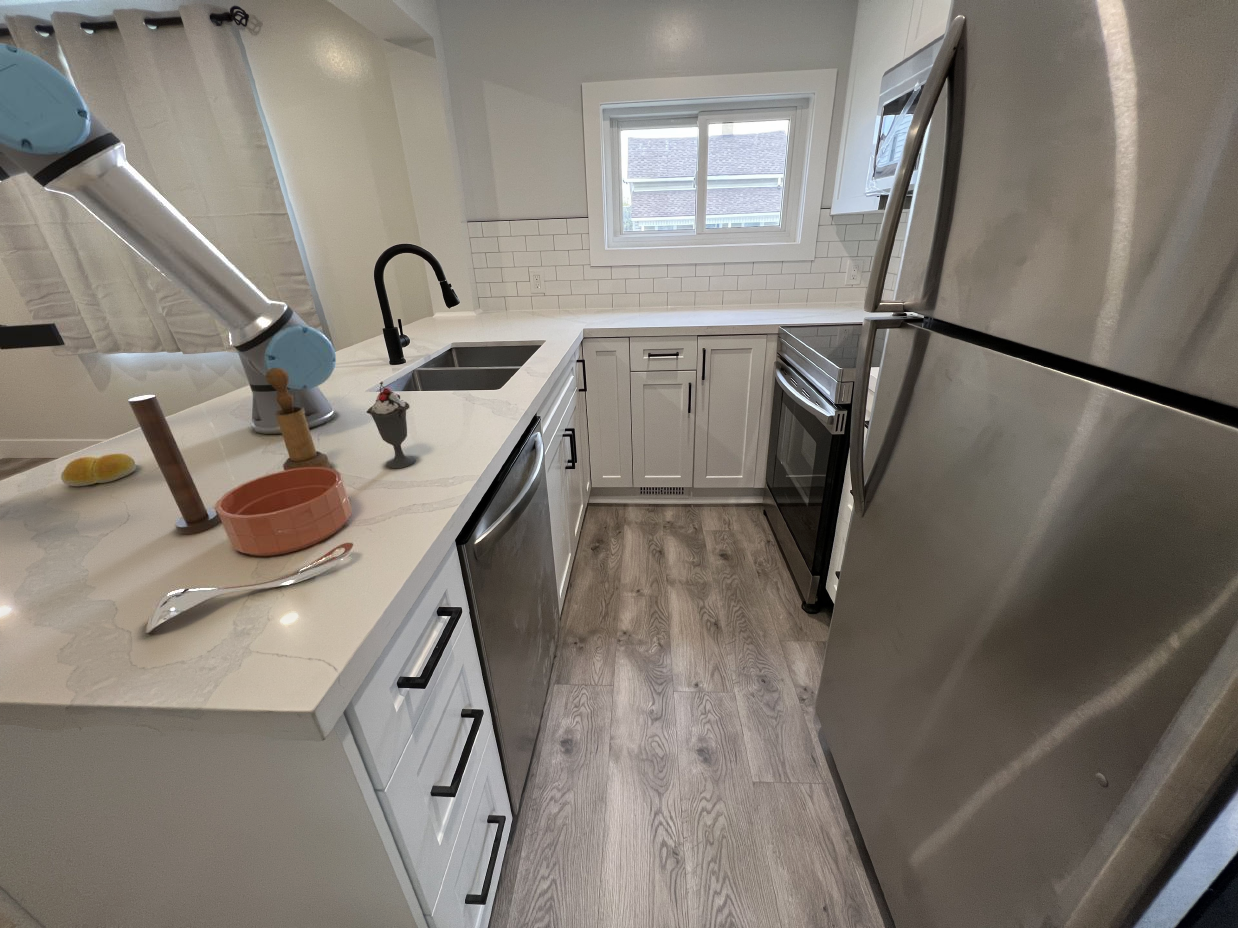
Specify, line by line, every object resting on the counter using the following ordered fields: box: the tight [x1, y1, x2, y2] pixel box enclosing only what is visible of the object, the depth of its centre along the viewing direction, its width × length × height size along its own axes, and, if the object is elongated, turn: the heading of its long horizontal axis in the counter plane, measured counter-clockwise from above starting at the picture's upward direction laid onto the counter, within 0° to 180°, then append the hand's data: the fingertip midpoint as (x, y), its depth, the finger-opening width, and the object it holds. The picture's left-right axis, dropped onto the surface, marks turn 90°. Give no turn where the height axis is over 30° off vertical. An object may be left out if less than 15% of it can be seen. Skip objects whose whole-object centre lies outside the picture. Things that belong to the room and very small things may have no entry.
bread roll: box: [60, 453, 137, 487], centre depth 86 cm, size 8×9×4 cm
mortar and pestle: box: [266, 368, 332, 471], centre depth 81 cm, size 7×6×18 cm
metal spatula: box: [145, 542, 355, 634], centre depth 55 cm, size 20×4×5 cm
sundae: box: [365, 381, 417, 470], centre depth 84 cm, size 7×7×15 cm
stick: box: [127, 394, 221, 536], centre depth 66 cm, size 5×5×19 cm
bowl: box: [214, 467, 352, 557], centre depth 67 cm, size 14×14×6 cm
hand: (9, 344), depth 57 cm, fingers open, 13 cm apart
